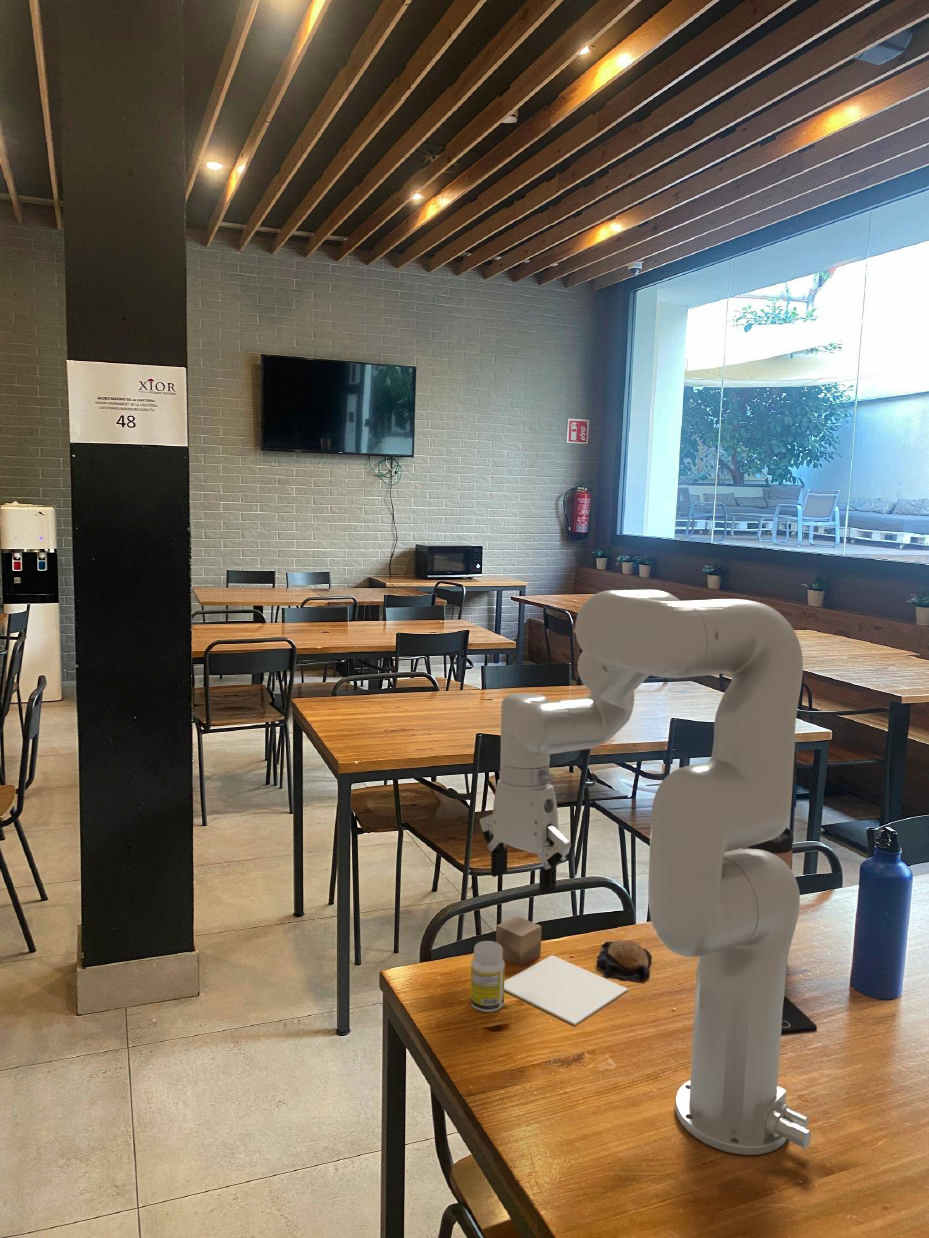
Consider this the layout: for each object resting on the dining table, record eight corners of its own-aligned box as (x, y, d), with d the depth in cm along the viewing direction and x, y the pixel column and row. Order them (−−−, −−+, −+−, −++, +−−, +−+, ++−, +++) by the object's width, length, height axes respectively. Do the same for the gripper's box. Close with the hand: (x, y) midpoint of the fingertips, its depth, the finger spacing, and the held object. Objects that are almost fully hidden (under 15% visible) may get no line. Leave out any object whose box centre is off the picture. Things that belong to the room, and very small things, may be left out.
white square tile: (627, 990, 130) (627, 988, 130) (574, 1025, 121) (575, 1023, 121) (551, 956, 140) (551, 954, 139) (497, 986, 130) (497, 984, 130)
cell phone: (759, 1039, 119) (759, 1032, 119) (696, 972, 137) (697, 966, 137) (818, 1033, 121) (818, 1026, 121) (749, 967, 139) (749, 962, 138)
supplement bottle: (484, 991, 129) (485, 935, 128) (510, 1003, 126) (512, 946, 125) (463, 1004, 125) (464, 947, 124) (489, 1017, 122) (491, 958, 121)
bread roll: (598, 948, 144) (598, 926, 144) (651, 954, 143) (652, 932, 142) (595, 981, 134) (596, 957, 133) (652, 987, 132) (653, 963, 132)
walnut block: (540, 956, 140) (541, 926, 139) (519, 967, 136) (521, 936, 136) (516, 945, 143) (517, 915, 143) (495, 955, 140) (496, 925, 139)
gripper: (585, 780, 133) (582, 891, 135) (498, 760, 145) (496, 862, 146) (554, 790, 128) (552, 905, 129) (466, 768, 140) (465, 874, 141)
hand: (522, 882), depth 138 cm, fingers open, 9 cm apart
